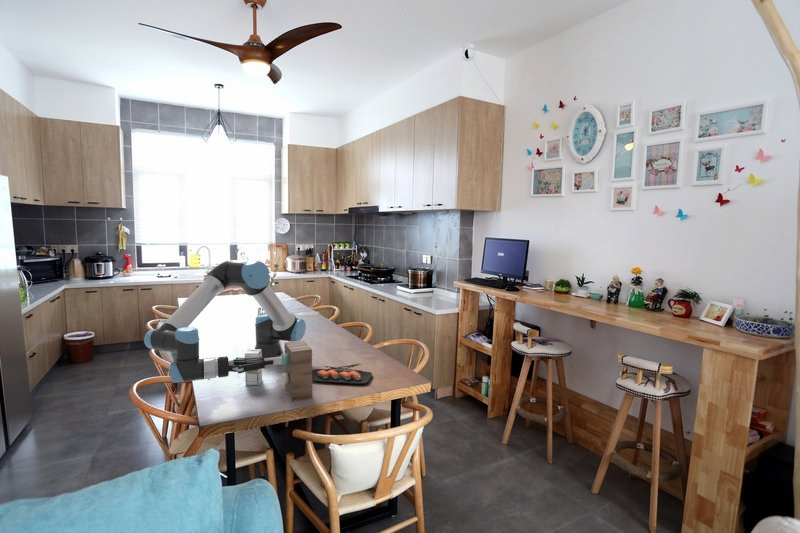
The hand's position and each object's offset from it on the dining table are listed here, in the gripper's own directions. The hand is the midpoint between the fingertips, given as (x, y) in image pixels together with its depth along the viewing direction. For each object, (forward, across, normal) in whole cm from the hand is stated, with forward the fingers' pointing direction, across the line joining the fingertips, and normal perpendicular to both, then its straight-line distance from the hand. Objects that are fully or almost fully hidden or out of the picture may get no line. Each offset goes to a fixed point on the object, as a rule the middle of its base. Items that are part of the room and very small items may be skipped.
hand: (281, 360), depth 166 cm
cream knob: (+5, -1, -10) cm, 11 cm away
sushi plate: (+31, -17, -15) cm, 38 cm away
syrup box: (-9, -19, -15) cm, 26 cm away
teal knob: (+5, 0, -2) cm, 6 cm away
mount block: (+7, -1, -15) cm, 16 cm away
